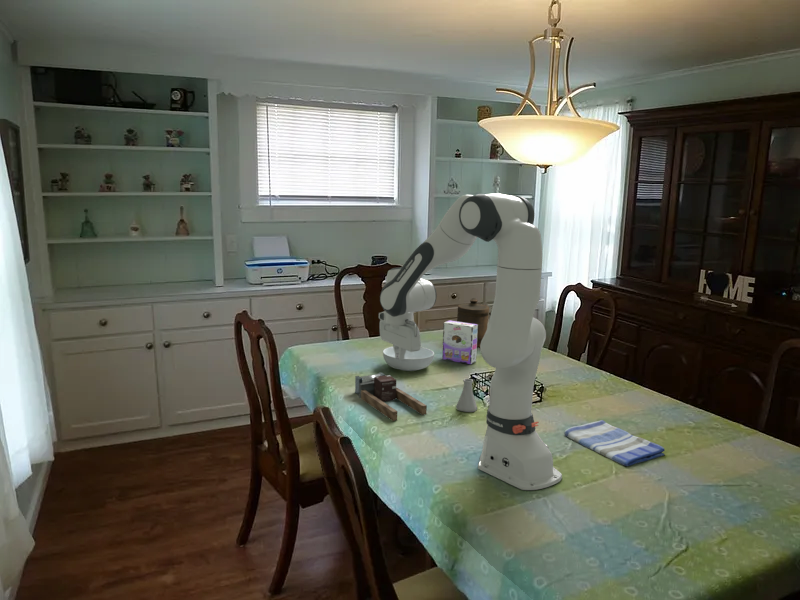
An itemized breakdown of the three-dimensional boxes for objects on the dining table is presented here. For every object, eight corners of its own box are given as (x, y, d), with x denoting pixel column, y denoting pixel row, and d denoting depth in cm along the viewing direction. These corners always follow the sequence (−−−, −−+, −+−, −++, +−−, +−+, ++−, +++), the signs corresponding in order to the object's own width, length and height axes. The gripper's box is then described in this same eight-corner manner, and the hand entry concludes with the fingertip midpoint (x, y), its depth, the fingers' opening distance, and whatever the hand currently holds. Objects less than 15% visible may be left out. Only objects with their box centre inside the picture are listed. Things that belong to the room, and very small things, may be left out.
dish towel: (601, 426, 183) (602, 417, 182) (667, 456, 163) (668, 447, 162) (560, 436, 175) (561, 427, 174) (624, 469, 154) (626, 459, 154)
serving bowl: (444, 370, 233) (444, 354, 232) (401, 379, 221) (401, 361, 220) (414, 357, 250) (414, 342, 249) (372, 365, 238) (373, 348, 237)
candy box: (476, 361, 246) (478, 324, 243) (470, 365, 241) (472, 326, 238) (447, 356, 253) (449, 319, 250) (441, 359, 249) (443, 321, 246)
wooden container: (493, 344, 276) (495, 298, 272) (474, 349, 265) (477, 302, 261) (468, 338, 286) (470, 294, 282) (449, 343, 275) (451, 297, 271)
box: (380, 402, 197) (380, 381, 195) (373, 396, 202) (373, 376, 201) (396, 400, 199) (396, 379, 198) (389, 394, 204) (389, 374, 203)
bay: (426, 414, 187) (426, 399, 186) (393, 421, 181) (393, 406, 180) (390, 391, 207) (390, 378, 206) (358, 397, 201) (359, 383, 200)
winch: (385, 390, 208) (385, 374, 207) (359, 395, 202) (359, 379, 201) (380, 387, 211) (380, 371, 210) (354, 392, 206) (354, 375, 205)
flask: (476, 413, 189) (478, 384, 187) (454, 411, 190) (456, 382, 188) (478, 405, 196) (479, 377, 194) (456, 403, 197) (458, 375, 195)
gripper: (425, 321, 178) (425, 365, 180) (392, 311, 195) (392, 350, 197) (408, 324, 175) (408, 368, 177) (376, 312, 192) (376, 353, 194)
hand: (399, 359), depth 187 cm, fingers closed
